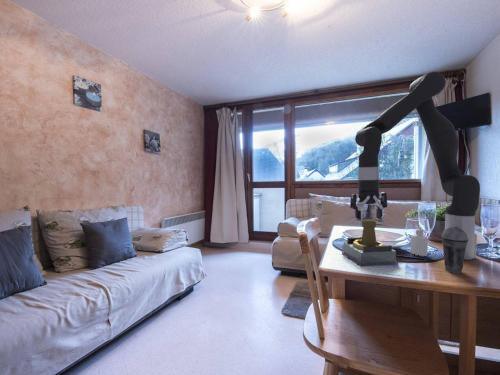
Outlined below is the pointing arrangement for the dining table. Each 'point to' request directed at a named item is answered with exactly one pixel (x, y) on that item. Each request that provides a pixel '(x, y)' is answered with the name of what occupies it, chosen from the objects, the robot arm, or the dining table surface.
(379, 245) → the grey peg socket base
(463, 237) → the beverage cup
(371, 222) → the cork
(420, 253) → the eye dropper bottle
